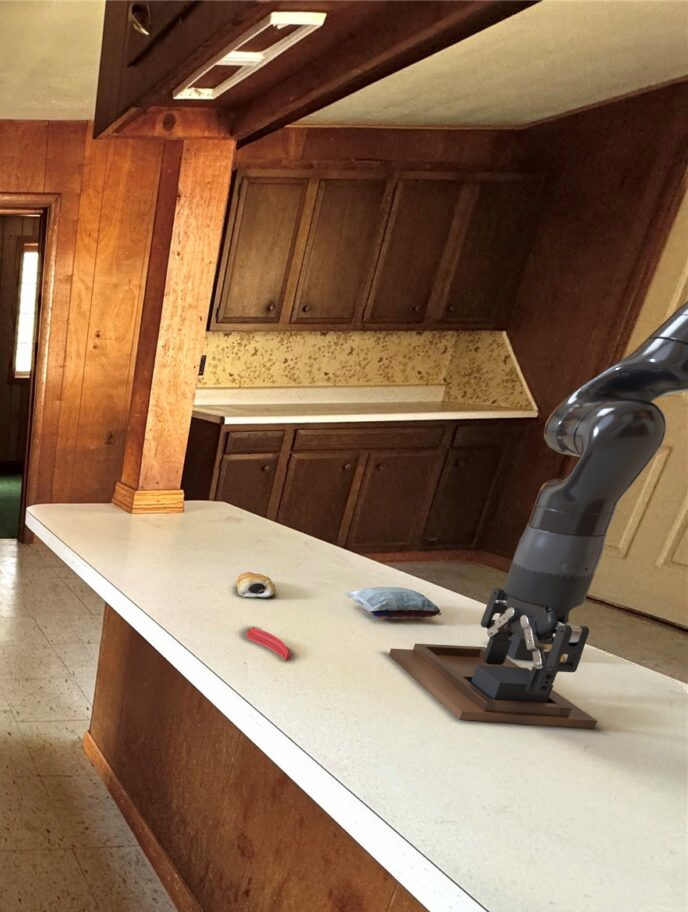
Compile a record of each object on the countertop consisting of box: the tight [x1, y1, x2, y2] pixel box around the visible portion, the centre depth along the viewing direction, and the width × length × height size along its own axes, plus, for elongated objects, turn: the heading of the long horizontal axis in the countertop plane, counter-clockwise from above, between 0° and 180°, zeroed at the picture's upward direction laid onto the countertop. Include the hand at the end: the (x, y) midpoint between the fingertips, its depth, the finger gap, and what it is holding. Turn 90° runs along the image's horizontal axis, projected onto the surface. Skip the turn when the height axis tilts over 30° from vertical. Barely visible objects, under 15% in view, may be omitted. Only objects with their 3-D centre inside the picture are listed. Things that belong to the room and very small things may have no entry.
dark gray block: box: [507, 634, 553, 661], centre depth 103 cm, size 6×5×4 cm
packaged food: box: [344, 586, 442, 620], centre depth 117 cm, size 9×12×5 cm
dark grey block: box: [471, 665, 554, 703], centre depth 89 cm, size 6×5×4 cm
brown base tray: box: [388, 643, 598, 730], centre depth 94 cm, size 15×19×2 cm
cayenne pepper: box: [246, 626, 292, 661], centre depth 109 cm, size 12×5×2 cm, turn 170°
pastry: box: [235, 571, 276, 598], centre depth 130 cm, size 9×7×4 cm
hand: (512, 677), depth 88 cm, fingers open, 8 cm apart
